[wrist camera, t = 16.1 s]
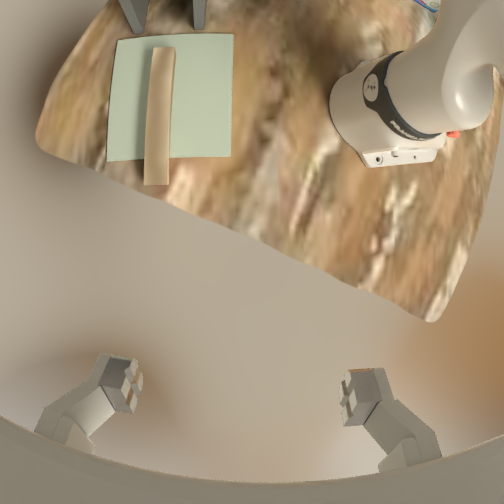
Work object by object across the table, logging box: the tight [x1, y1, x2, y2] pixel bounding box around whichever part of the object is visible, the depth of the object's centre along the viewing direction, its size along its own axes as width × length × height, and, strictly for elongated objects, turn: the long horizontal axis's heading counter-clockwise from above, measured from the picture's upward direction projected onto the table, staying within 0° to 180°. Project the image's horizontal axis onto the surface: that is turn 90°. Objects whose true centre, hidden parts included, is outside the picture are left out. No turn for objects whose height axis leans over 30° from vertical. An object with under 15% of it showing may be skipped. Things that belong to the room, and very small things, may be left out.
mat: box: [107, 34, 234, 162], centre depth 38 cm, size 18×20×1 cm
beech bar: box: [144, 47, 176, 185], centre depth 37 cm, size 3×20×3 cm, turn 179°
